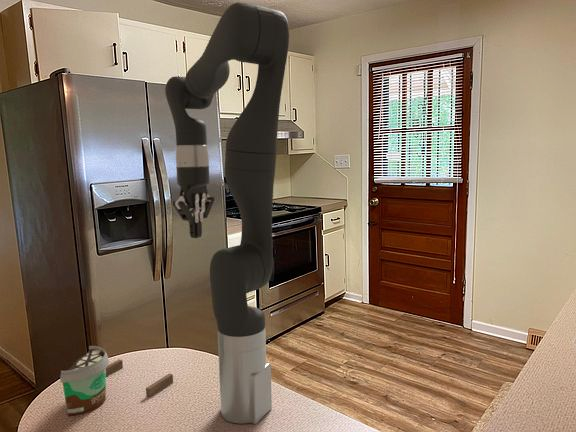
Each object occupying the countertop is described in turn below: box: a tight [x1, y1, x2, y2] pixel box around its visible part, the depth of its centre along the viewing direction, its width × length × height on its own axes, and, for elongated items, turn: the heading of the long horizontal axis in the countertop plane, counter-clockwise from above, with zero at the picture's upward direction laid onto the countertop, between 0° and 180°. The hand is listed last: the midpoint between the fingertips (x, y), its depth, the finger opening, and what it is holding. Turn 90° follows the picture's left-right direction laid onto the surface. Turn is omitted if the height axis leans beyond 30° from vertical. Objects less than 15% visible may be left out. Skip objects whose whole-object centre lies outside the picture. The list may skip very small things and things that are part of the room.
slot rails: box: [106, 359, 174, 399], centre depth 99 cm, size 17×7×2 cm, turn 62°
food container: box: [59, 345, 110, 418], centre depth 90 cm, size 12×6×10 cm, turn 178°
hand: (196, 237), depth 106 cm, fingers closed
